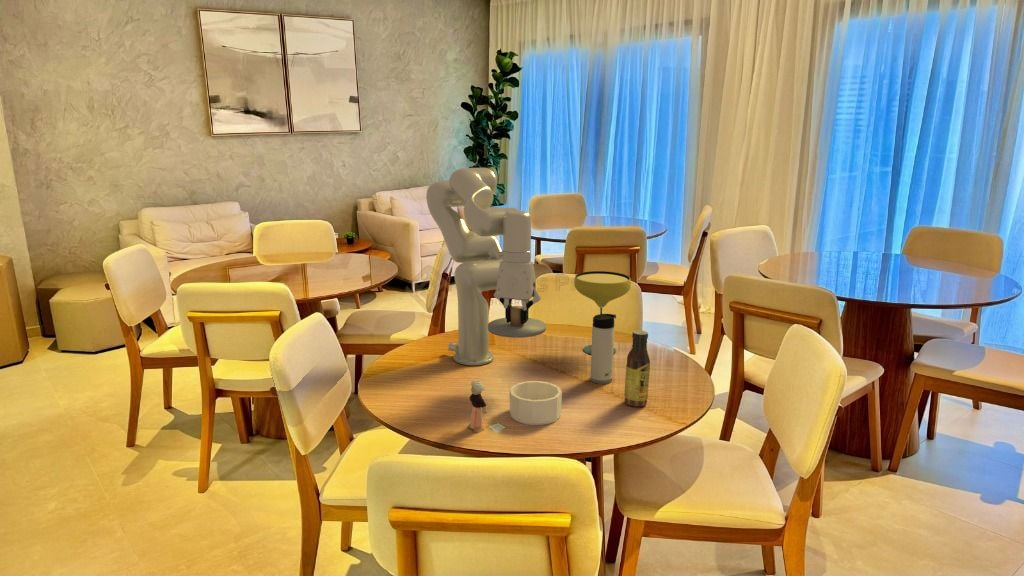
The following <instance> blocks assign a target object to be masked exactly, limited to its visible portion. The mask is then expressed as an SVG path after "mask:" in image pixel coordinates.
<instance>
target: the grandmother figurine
mask: <svg viewBox="0 0 1024 576" xmlns="http://www.w3.org/2000/svg"><path fill="white" fill-rule="evenodd" d="M470 385H471V388H470V392H471V394H470V396H469V401H468V404H469V405H471V415H470V423H468V425H467V428H469V429H471V430H473V432H474V433H481V432H483V431H484V430H485V427H483V414H484V415H487V413H488V409H487V406H488V405H487V404H486V402H485V400H484V399H483V396H482V394H481V393H482V392H483V391H484V390H486V386H485V385H484V383H483V382H482V381H480V380H477V379H474V380H472V381H471V384H470Z"/></svg>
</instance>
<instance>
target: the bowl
mask: <svg viewBox="0 0 1024 576" xmlns="http://www.w3.org/2000/svg"><path fill="white" fill-rule="evenodd" d="M562 399H563V391H562V389H561V388H560V387H559V386H558V385H556V384H554V383H551V382H546V381H541V380H532V381H531V380H529V381H528V380H527V381H522V382H518V383H515V384H514V385H512V387H510V388H509V416H510V418H511V419H512V420H513V421H515V422H517V423H519V424H523V425H528V426H546V425H550V424H553V423H556V422H557V421H559V419H560V418H561V414H562V407H563V406H562V403H563V400H562Z"/></svg>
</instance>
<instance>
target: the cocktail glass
mask: <svg viewBox="0 0 1024 576" xmlns="http://www.w3.org/2000/svg"><path fill="white" fill-rule="evenodd" d="M631 281H632V280H631V277H630V276H629V275H626V274H625V273H620V272H616V271H615V272H614V271H606V270H605V271H604V270H603V271H602V270H596V271H595V270H594V271H593V270H592V271H590V270H589V271H585V272H579V273H577V274H575V277H574V281H573V283H574V288H575V290H576V291H577V292H578V293H579V294H581V295H583V296H584V297H586V298H588V299H589V300H592V301H593V302H594V303H595V304H596V306H597V307H599V308H600V309H599V310H600V312H599V314H603V309H604V308H605V307H606V306H607V304H608V303H610V302H611V301H613V300H616V299H618V298H621V297H623V296H625V295H626V294H628V293H629V291H630V289H631V284H632V282H631ZM582 348H583V349H582V350H583V352H584V353H585V354H588V355H590V356H591V351H592V344H588V345H586V346H584V347H582ZM616 352H617V350H616V348H615V347H613V355H614V354H616Z"/></svg>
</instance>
